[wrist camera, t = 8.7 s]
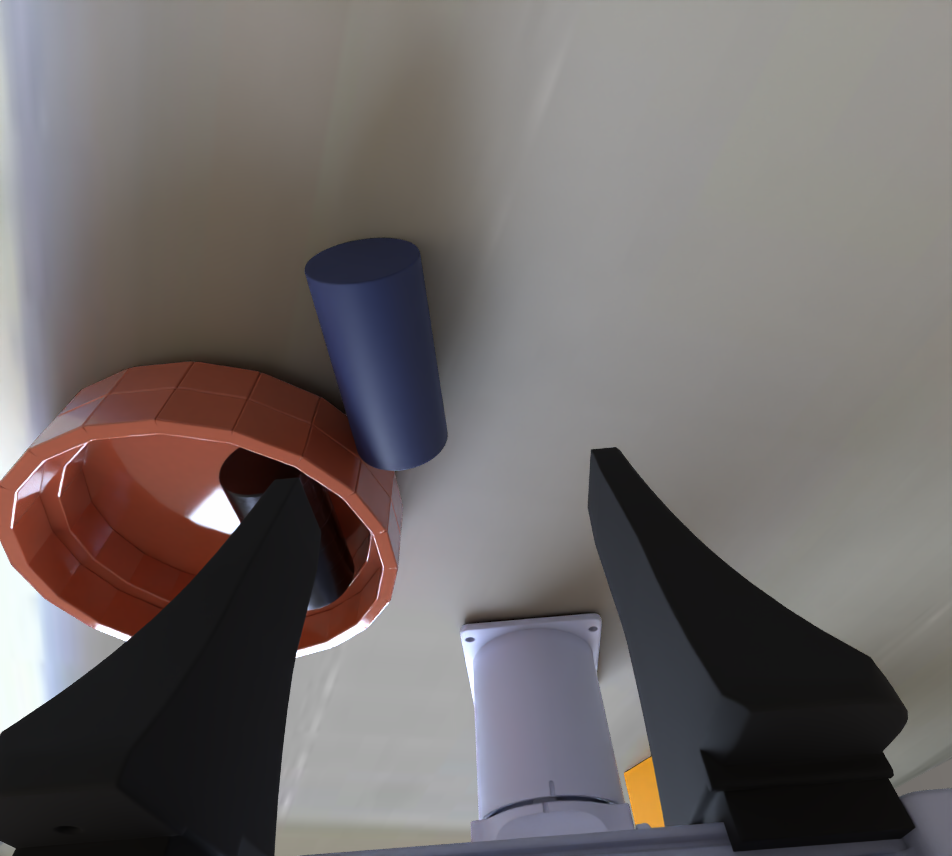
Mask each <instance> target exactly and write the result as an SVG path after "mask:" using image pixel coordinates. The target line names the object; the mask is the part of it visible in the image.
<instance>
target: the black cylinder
mask: <svg viewBox="0 0 952 856" xmlns="http://www.w3.org/2000/svg"><path fill="white" fill-rule="evenodd" d="M298 477H299V479H300V481H301V484H302V486H303V489H304V491H305V493H306V496H307V498H308V501H309V503H310V506H311V508H312V511H313V513H314V516H315V518H316V520H317V523H318V525H319V528H320V530H321V539H320V549H319V558H318V566H317V572H316V577H315V581H314V585H313V589H312V593H311V597H310V602H309V606H308V610H315V609H319V608H322V607H325V606H327V605H329V604H331V603H333V602H334V601H336V600H337V599H338V598H339V597H341V596H342V595H343V594H344V593H345V591H346V590H347V589H348V587H349V586H350V584H351V582H352V580H353V576H354V571H355V566H354V562H353V559H352V556H351V553H350V551H349V548H348V545H347V542H346V540H345V537H344V534H343V531H342V529H341V526H340V523H339V520H338V518H337V515H336V512H335V509H334V507H333V504H332V501H331V498H330V496H329V493H328V490H327V488H326V487H324V486H323V485H321V484H320V483H318V482H317V481H315V480H313V479H312V478H310V477H309V476H307V475H306V474H304V473H303V472H301V471H300V470H298V469H297V468H295V467H293V466H290V465H288V464H285V463H282V462H279V461H277V460H274V459H271V458H268V457H266V456H263V455H260V454H258V453H255V452H252V451H249V450H247V449H244V448H241V447H239V448H237V449H236V450H235V451H234V452H232V453H231V454H230V455H229V456H228V457H227V458H226V460H225V461H224V463H223V464H222V466H221V468H220V471H219V483H220V485H221V487H222V489H223V491H224V493H225V495H226V497H227V498H228V500H229V502H230V504H231V506H232V508H233V510H234V512H235V513H236V515H237V517H238V519H239V521H240V523H241V522H242V521H243V519H244V518H245V517H246V515H247V514H248V513H249V512H250V510H251V509H252V508H253V506H254V505H255V504H256V503H257V501H258V500H259V499H260V497H261V496H262V495H263V494H264V492H265V491H266V490H267V489H268V487H269V486H270V485H271V484H272V482H273V481H274V480H277V479H287V478H298Z"/></svg>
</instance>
